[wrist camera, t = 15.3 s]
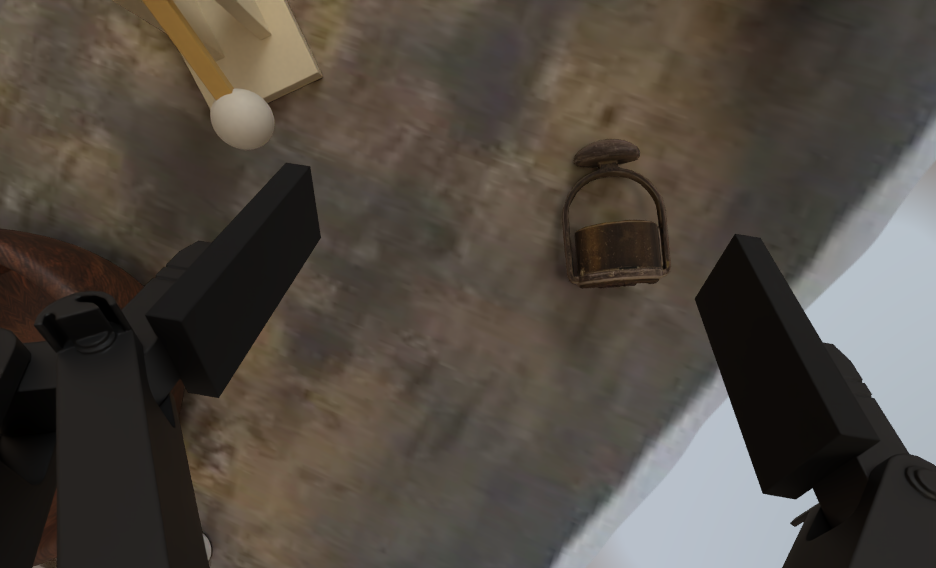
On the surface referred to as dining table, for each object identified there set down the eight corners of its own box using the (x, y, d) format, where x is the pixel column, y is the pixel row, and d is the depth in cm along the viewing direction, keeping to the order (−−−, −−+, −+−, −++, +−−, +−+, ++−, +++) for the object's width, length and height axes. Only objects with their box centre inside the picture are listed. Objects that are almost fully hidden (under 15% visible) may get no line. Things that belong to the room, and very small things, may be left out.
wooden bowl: (179, 200, 38) (80, 199, 28) (241, 469, 42) (176, 553, 32) (-124, 237, 37) (-338, 250, 27) (-29, 505, 42) (-181, 602, 32)
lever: (287, 124, 31) (284, 143, 28) (240, 146, 31) (232, 168, 28) (109, -150, 21) (78, -160, 19) (42, -116, 21) (2, -122, 19)
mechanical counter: (531, 286, 35) (659, 329, 34) (588, 118, 32) (732, 158, 30) (535, 270, 42) (642, 305, 40) (583, 131, 39) (700, 164, 37)
